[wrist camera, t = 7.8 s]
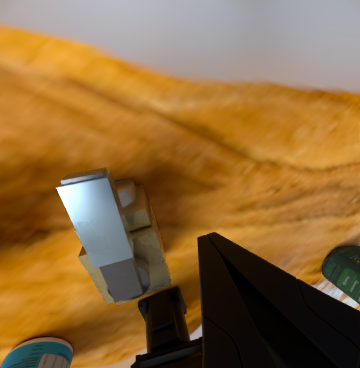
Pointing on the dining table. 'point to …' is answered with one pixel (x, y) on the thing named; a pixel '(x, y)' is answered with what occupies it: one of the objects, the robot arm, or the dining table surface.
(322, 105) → the dining table surface
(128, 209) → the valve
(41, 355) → the beverage bottle
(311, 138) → the dining table surface
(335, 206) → the dining table surface
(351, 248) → the coffee jar
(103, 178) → the lever
